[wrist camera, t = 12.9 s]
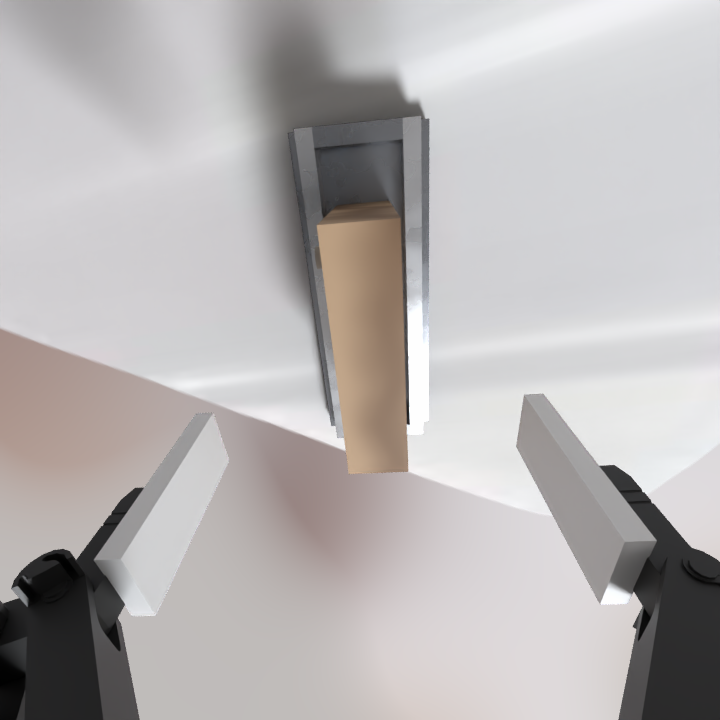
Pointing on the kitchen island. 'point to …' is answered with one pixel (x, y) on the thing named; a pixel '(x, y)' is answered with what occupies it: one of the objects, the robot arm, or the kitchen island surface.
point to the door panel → (367, 331)
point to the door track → (360, 185)
